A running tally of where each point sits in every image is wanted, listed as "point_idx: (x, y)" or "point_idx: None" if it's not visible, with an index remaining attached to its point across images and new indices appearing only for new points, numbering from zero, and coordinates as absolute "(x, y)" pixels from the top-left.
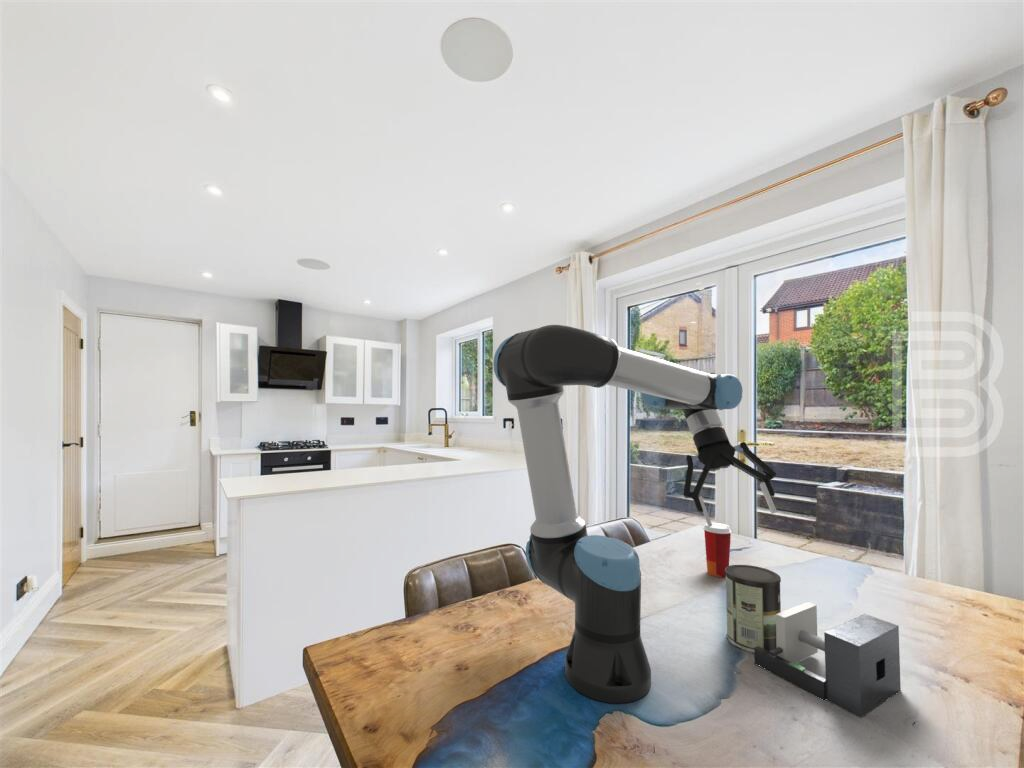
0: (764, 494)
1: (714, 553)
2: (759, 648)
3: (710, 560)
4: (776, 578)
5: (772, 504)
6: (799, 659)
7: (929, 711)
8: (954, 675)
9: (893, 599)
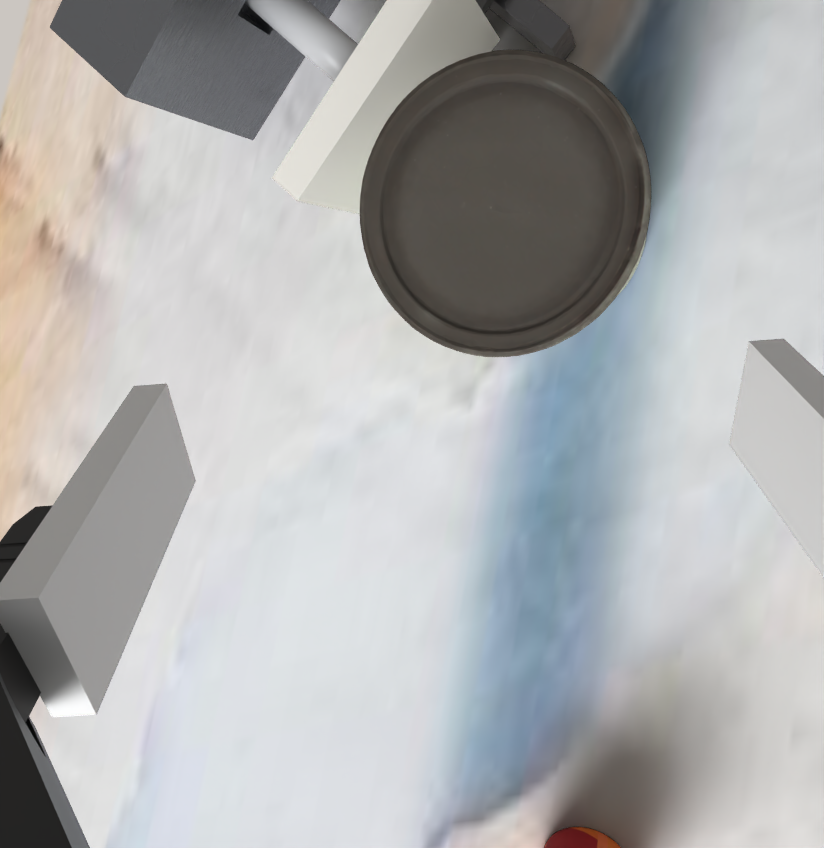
0: (123, 560)
1: None
2: (550, 30)
3: None
4: (382, 170)
5: (123, 419)
6: None
7: None
8: (59, 249)
9: None
